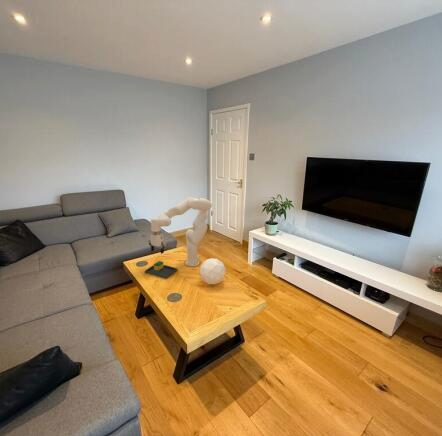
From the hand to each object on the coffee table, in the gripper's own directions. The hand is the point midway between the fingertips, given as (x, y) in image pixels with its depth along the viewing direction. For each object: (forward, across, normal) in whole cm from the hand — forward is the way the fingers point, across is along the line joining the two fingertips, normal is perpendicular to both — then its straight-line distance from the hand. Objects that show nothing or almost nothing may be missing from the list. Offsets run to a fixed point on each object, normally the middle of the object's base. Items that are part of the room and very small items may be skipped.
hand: (157, 252), depth 192 cm
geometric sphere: (+17, -49, -4) cm, 52 cm away
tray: (+17, -4, +1) cm, 17 cm away
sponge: (+16, +1, -2) cm, 16 cm away
